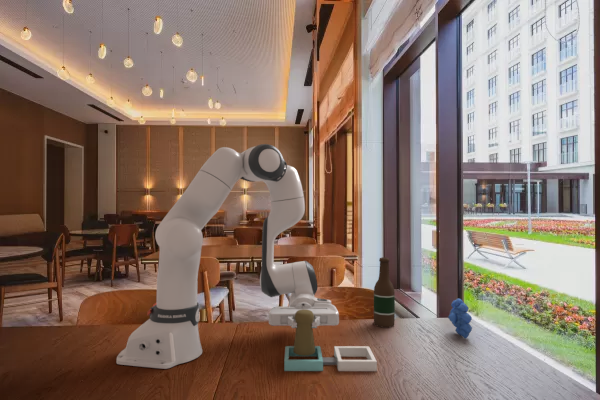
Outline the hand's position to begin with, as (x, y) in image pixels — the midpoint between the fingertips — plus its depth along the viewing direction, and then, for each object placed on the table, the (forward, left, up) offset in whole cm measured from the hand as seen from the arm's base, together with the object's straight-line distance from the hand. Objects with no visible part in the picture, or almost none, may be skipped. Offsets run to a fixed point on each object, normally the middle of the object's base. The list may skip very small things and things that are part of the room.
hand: (304, 325), depth 98 cm
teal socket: (0, +1, -10) cm, 10 cm away
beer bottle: (+30, +33, -11) cm, 46 cm away
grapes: (+52, +22, -11) cm, 57 cm away
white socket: (+12, +1, -10) cm, 16 cm away
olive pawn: (0, +1, -7) cm, 8 cm away
